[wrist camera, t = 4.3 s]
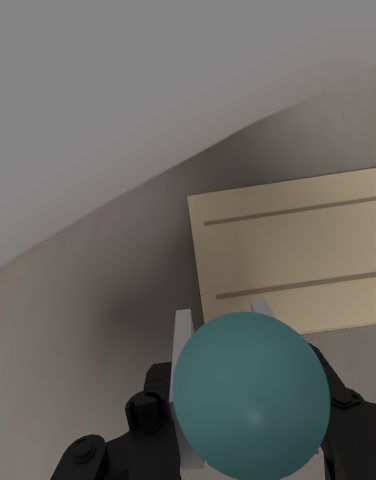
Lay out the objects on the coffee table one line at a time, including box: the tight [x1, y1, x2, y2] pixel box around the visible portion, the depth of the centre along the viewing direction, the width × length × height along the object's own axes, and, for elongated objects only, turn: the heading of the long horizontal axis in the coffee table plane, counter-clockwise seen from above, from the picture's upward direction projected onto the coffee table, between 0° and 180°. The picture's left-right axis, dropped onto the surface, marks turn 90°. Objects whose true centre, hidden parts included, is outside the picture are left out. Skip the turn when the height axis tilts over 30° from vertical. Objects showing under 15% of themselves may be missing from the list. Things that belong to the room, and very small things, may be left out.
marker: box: [173, 312, 330, 480], centre depth 13 cm, size 3×3×13 cm
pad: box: [187, 168, 376, 335], centre depth 23 cm, size 18×12×1 cm, turn 96°
